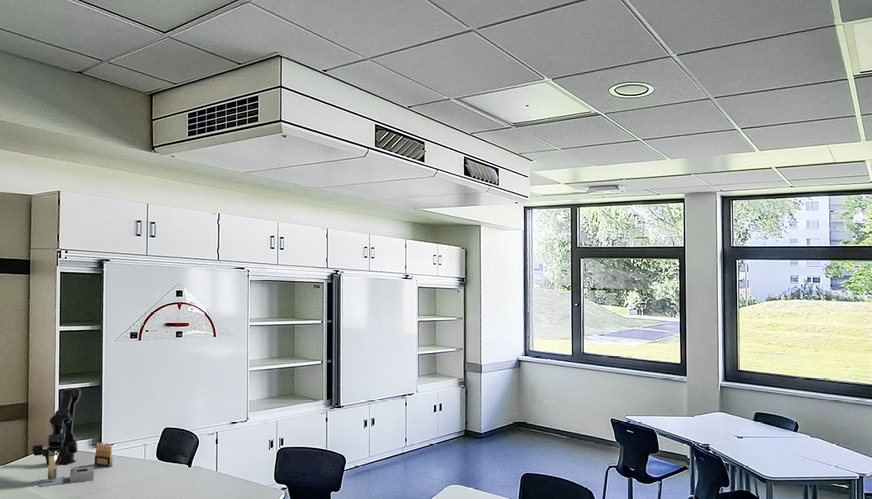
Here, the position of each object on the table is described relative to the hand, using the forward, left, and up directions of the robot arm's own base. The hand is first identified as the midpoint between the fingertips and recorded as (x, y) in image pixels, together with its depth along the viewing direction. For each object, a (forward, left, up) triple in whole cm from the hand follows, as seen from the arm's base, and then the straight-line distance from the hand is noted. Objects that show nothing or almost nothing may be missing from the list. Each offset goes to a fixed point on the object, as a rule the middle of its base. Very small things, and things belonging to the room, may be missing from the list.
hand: (52, 464), depth 304 cm
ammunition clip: (-30, +1, -9) cm, 31 cm away
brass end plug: (-1, -1, -7) cm, 7 cm away
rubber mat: (-1, -1, -9) cm, 9 cm away
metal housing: (-10, +8, -9) cm, 16 cm away
